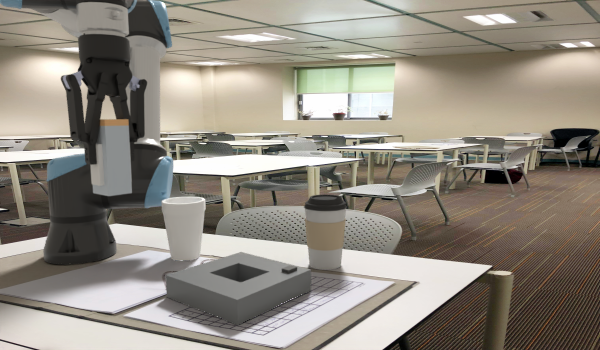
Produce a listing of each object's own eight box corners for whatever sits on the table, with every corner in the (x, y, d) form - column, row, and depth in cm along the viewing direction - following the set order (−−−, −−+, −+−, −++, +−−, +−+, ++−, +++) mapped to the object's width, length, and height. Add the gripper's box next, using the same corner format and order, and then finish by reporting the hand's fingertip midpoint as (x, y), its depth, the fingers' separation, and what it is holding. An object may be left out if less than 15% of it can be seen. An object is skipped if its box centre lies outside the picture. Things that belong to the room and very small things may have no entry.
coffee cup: (297, 268, 97) (297, 197, 95) (312, 256, 106) (312, 190, 104) (339, 273, 94) (339, 199, 92) (351, 260, 102) (352, 193, 100)
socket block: (166, 297, 82) (165, 271, 81) (241, 270, 96) (240, 249, 95) (238, 325, 71) (237, 296, 70) (310, 290, 84) (310, 266, 84)
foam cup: (161, 253, 108) (159, 198, 107) (201, 249, 112) (200, 195, 110) (167, 265, 99) (164, 205, 98) (210, 260, 103) (208, 202, 101)
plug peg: (93, 193, 77) (88, 119, 75) (115, 190, 80) (112, 119, 78) (108, 196, 74) (104, 119, 72) (132, 192, 77) (128, 119, 75)
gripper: (59, 24, 65) (69, 191, 68) (164, 40, 78) (169, 179, 81) (36, 31, 69) (47, 187, 72) (139, 44, 83) (145, 176, 85)
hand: (111, 182), depth 77 cm, fingers closed on plug peg, 4 cm apart
